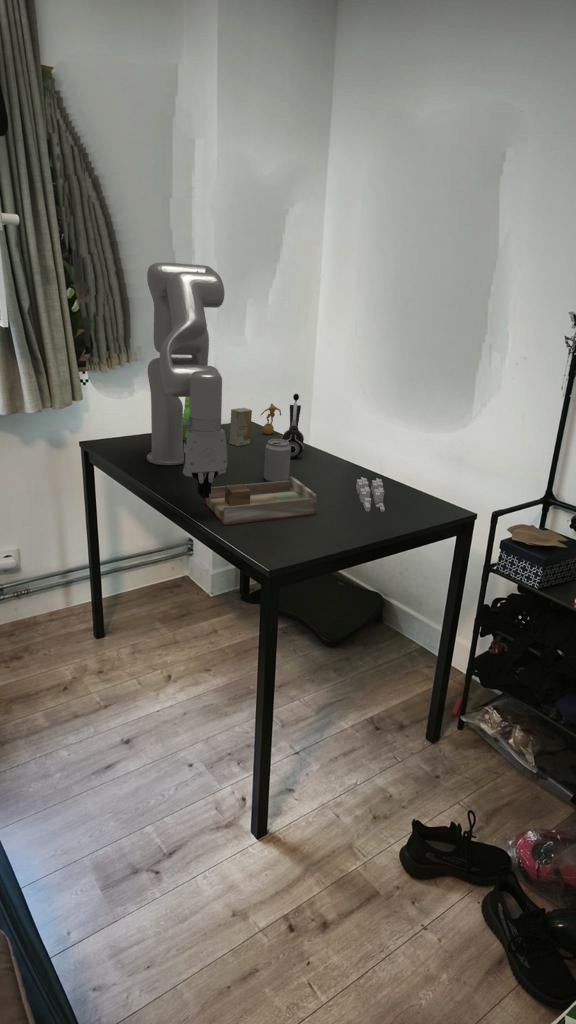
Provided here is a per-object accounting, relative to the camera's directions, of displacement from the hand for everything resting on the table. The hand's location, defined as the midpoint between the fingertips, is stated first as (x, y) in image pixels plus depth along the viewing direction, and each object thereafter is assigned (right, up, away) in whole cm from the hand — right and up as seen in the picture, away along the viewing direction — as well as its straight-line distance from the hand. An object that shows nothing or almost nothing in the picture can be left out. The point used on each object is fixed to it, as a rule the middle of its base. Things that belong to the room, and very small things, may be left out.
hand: (204, 496), depth 157 cm
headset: (+22, +15, +57) cm, 63 cm away
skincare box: (+4, +20, +64) cm, 67 cm away
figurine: (+14, +24, +77) cm, 82 cm away
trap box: (+13, -3, +9) cm, 16 cm away
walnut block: (+8, -2, +5) cm, 9 cm away
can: (+17, +5, +31) cm, 36 cm away
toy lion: (-15, +23, +67) cm, 73 cm away
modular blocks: (+44, -1, +21) cm, 49 cm away
